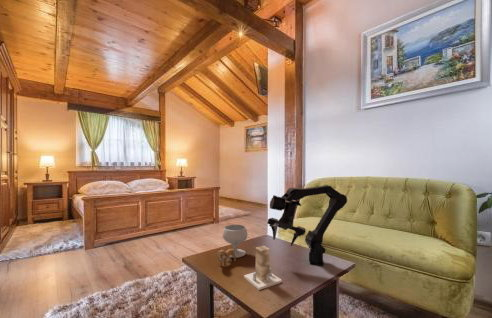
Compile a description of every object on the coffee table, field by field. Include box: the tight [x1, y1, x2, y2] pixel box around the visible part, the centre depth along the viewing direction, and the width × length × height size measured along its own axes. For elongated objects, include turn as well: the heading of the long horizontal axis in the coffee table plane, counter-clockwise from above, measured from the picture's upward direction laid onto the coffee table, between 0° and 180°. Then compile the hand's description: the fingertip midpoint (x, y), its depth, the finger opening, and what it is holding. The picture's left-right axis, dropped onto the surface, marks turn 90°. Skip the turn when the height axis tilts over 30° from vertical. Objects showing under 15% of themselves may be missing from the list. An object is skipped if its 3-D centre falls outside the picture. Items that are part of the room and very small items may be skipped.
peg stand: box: [243, 267, 283, 291], centre depth 103 cm, size 12×12×4 cm
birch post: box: [255, 245, 271, 281], centre depth 103 cm, size 4×4×13 cm
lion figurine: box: [216, 248, 237, 268], centre depth 120 cm, size 15×5×9 cm, turn 155°
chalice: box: [222, 224, 248, 259], centre depth 132 cm, size 14×14×15 cm
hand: (282, 242), depth 118 cm, fingers open, 9 cm apart
